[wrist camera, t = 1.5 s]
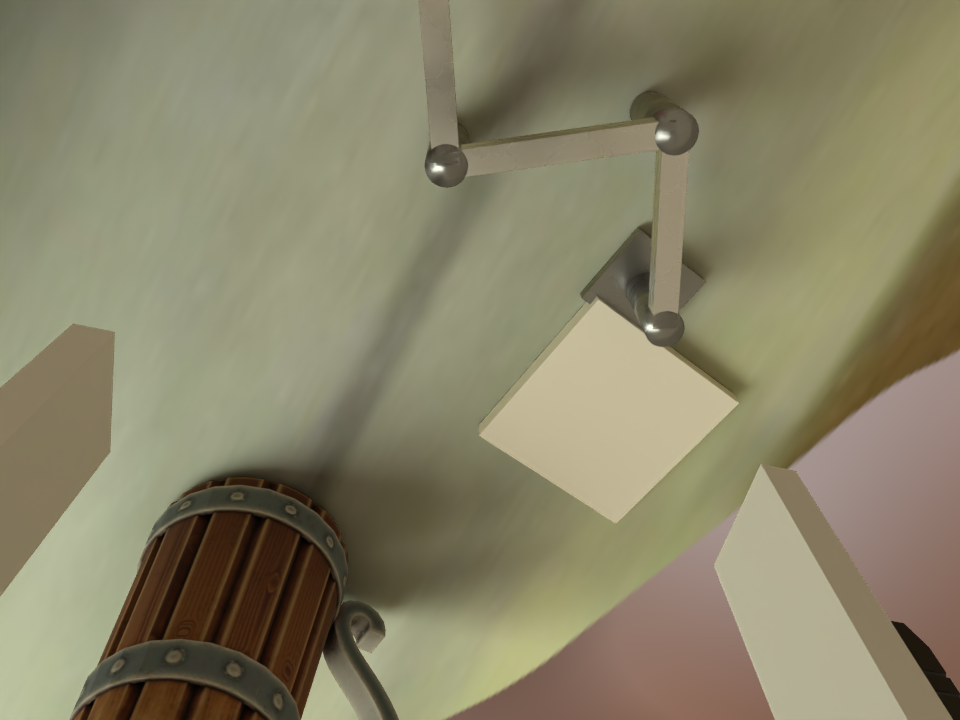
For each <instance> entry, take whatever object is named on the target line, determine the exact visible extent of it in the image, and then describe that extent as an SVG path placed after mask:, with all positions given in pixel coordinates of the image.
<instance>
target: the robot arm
mask: <svg viewBox="0 0 960 720" xmlns="http://www.w3.org/2000/svg"><path fill="white" fill-rule="evenodd" d="M114 340H115V332H112V331H107V330H102V329H97V328H92V327H87V326H82V325H78V324H73V325H71V326H70V327H69V328H68V329H67V330H66V331H65V332H63V333H62V334H61V335H60V336H59V337H58V338H57V339H55V340H54V341H53V342H52V343H51V344H50V345H49V346H48V347H46V348H45V349H44V350H43V351H42V352H41V353H40V354H38V355H37V356H36V357H35V358H34V359H33V360H32V361H30V362H29V363H28V364H27V365H26V366H25V367H24V368H22V369H21V370H20V371H19V372H18V373H17V374H16V375H15V376H13V377H12V378H11V379H10V380H9V381H8V382H7V383H5V384H4V385H3V386H2V387H1V388H0V596H1V595H2V593H3V592H4V591H5V589H6V588H7V587H8V586H9V584H10V583H11V582H12V580H13V579H14V578H15V576H16V575H17V574H18V572H19V571H20V570H21V568H22V567H23V566H24V564H25V563H26V562H27V561H28V559H29V558H30V557H31V555H32V554H33V553H34V551H35V550H36V549H37V547H38V546H39V545H40V543H41V542H42V541H43V539H44V538H45V537H46V536H47V534H48V533H49V532H50V530H51V529H52V528H53V526H54V525H55V524H56V522H57V521H58V520H59V518H60V517H61V516H62V514H63V513H64V512H65V511H66V509H67V508H68V507H69V505H70V504H71V503H72V501H73V500H74V499H75V497H76V496H77V495H78V493H79V492H80V491H81V489H82V488H83V487H84V486H85V484H86V483H87V482H88V480H89V479H90V478H91V476H92V475H93V474H94V472H95V471H96V470H97V468H98V467H99V466H100V464H101V463H102V462H103V461H104V459H105V458H106V457H107V455H108V454H109V453H110V444H111V418H112V392H113V366H114ZM714 567H715V570H716V572H717V575H718V577H719V580H720V582H721V585H722V587H723V590H724V592H725V595H726V598H727V600H728V603H729V605H730V608H731V610H732V613H733V615H734V618H735V620H736V623H737V625H738V628H739V630H740V633H741V635H742V638H743V640H744V643H745V645H746V648H747V650H748V653H749V656H750V658H751V660H752V663H753V666H754V668H755V671H756V673H757V676H758V678H759V681H760V683H761V686H762V688H763V691H764V693H765V696H766V698H767V701H768V703H769V706H770V709H771V711H772V714H773V716H774V718H775V720H960V693H959V692H958V690H957V688H956V687H955V685H954V684H953V682H952V681H951V679H950V678H946V672H945V670H944V669H943V667H942V666H941V665H940V663H939V661H938V660H937V659H936V657H935V655H934V654H933V653H932V651H931V650H930V648H929V647H928V646H927V645H926V644H925V643H924V642H923V641H922V640H921V639H920V638H919V637H918V636H917V635H915V634H914V633H913V632H912V631H911V630H910V629H909V628H908V627H907V626H906V625H905V624H904V623H899V622H894V621H890V619H889V618H888V616H887V615H886V613H885V612H884V610H883V608H882V607H881V606H880V604H879V602H878V601H877V599H876V597H875V596H874V595H873V593H872V591H871V589H870V588H869V586H868V585H867V583H866V582H865V580H864V579H863V577H862V576H861V574H860V572H859V571H858V569H857V568H856V566H855V564H854V563H853V561H852V559H851V558H850V557H849V555H848V553H847V552H846V550H845V548H844V547H843V545H842V544H841V542H840V541H839V539H838V537H837V536H836V534H835V533H834V531H833V530H832V528H831V526H830V525H829V523H828V522H827V520H826V519H825V517H824V515H823V514H822V512H821V511H820V509H819V507H818V506H817V504H816V503H815V501H814V500H813V498H812V496H811V495H810V493H809V492H808V490H807V489H806V487H805V485H804V484H803V482H802V481H801V479H800V477H799V476H798V474H797V473H796V471H793V470H788V469H783V468H778V467H773V466H768V465H764V464H761V465H760V467H759V469H758V472H757V474H756V476H755V478H754V480H753V482H752V484H751V487H750V489H749V491H748V493H747V495H746V497H745V500H744V502H743V504H742V506H741V508H740V510H739V512H738V515H737V517H736V519H735V521H734V523H733V525H732V528H731V530H730V532H729V534H728V536H727V539H726V541H725V543H724V545H723V547H722V549H721V551H720V554H719V556H718V558H717V560H716V562H715V564H714Z"/></svg>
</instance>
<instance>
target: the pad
mask: <svg viewBox="0 0 960 720" xmlns="http://www.w3.org/2000/svg"><path fill="white" fill-rule="evenodd" d="M738 404H739V402H738V401H737V399H736V398H735V396H734V394H733V393H732V392H730V391H729V390H728V389H726V388H725V387H724V386H722V385H721V384H720V383H718V382H717V381H715V380H714V379H713V378H711V377H710V376H709V375H707V374H706V373H705V372H703V371H702V370H701V369H699V368H698V367H697V366H695V365H694V364H693V363H691V362H690V361H689V360H687V359H686V358H684V357H683V356H682V355H680V354H679V353H678V352H676V351H675V350H674V349H672V348H671V347H670V346H667V347H658V346H655V345H653V344H651V343H650V342H649V341H648V339H647V337H646V335H645V333H644V331H643V330H642V329H641V328H639V327H638V326H637V325H635V324H634V323H633V322H631V321H630V320H629V319H627V318H626V317H625V316H623V315H622V314H621V313H619V312H618V311H617V310H615V309H614V308H612V307H611V306H610V305H608V304H607V303H606V302H604V301H603V300H602V299H600V298H599V297H598V296H597V297H596V298H595V299H594V301H593V302H592V303H591V304H589V303H588V302H586V303H585V304H584V305H583V306H582V308H581V309H580V310H579V311H578V312H577V313H576V314H575V316H574V317H573V318H572V319H571V320H570V321H569V322H568V324H567V325H566V326H565V327H564V328H563V329H562V330H561V332H560V333H559V334H558V335H557V336H556V337H555V338H554V340H553V341H552V342H551V343H550V344H549V345H548V346H547V348H546V349H545V350H544V351H543V352H542V353H541V354H540V356H539V357H538V358H537V359H536V360H535V361H534V362H533V364H532V365H531V366H530V367H529V368H528V369H527V371H526V372H525V373H524V374H523V375H522V376H521V377H520V379H519V380H518V381H517V382H516V383H515V384H514V385H513V387H512V388H511V389H510V390H509V391H508V392H507V393H506V395H505V396H504V397H503V398H502V399H501V400H500V401H499V403H498V404H497V405H496V406H495V407H494V408H493V409H492V411H491V412H490V413H489V414H488V415H487V416H486V417H485V419H484V420H483V421H482V422H481V423H480V424H479V436H480V437H482V438H483V439H485V440H486V441H488V442H489V443H491V444H493V445H494V446H496V447H497V448H499V449H500V450H502V451H503V452H505V453H507V454H508V455H510V456H511V457H513V458H514V459H516V460H518V461H519V462H521V463H522V464H524V465H525V466H527V467H528V468H530V469H532V470H533V471H535V472H536V473H538V474H539V475H541V476H542V477H544V478H546V479H547V480H549V481H550V482H552V483H553V484H555V485H556V486H558V487H560V488H561V489H563V490H564V491H566V492H567V493H569V494H570V495H572V496H574V497H575V498H577V499H578V500H580V501H581V502H583V503H585V504H586V505H588V506H589V507H591V508H592V509H594V510H595V511H597V512H599V513H600V514H602V515H603V516H605V517H606V518H608V519H609V520H611V521H613V522H614V523H617V522H618V521H619V520H620V519H621V518H622V517H623V516H624V515H625V514H627V513H628V512H629V511H630V510H631V509H632V508H633V507H634V506H635V505H636V504H637V503H638V502H639V501H640V500H641V499H642V498H643V497H644V496H645V495H646V494H647V493H648V492H649V491H650V490H651V489H652V488H653V487H654V486H655V485H656V484H657V483H658V482H659V481H660V480H661V479H662V478H663V477H664V476H665V475H666V474H667V473H668V472H669V471H670V470H671V469H672V468H673V467H675V466H676V465H677V464H678V463H679V462H680V461H681V460H682V459H683V458H684V457H685V456H686V455H687V454H688V453H689V452H690V451H691V450H692V449H693V448H694V447H695V446H696V445H697V444H698V443H699V442H700V441H701V440H702V439H703V438H704V437H705V436H706V435H707V434H708V433H709V432H710V431H711V430H712V429H713V428H714V427H715V426H716V425H717V424H718V423H719V422H720V421H722V420H723V419H724V418H725V417H726V416H727V415H728V414H729V413H730V412H731V411H732V410H733V409H734V408H735V407H736V406H737V405H738Z"/></svg>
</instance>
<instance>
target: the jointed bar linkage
mask: <svg viewBox="0 0 960 720" xmlns="http://www.w3.org/2000/svg"><path fill="white" fill-rule="evenodd" d="M419 11H420V23H421V34H422V46H423V57H424V69H425V81H426V92H427V104H428V116H429V127H430V142H429V147H428V151H427V155H426V160H425V171H426V174H427V176H428V178H429V179H430V180H431V181H432V182H433V183H434V184H436V185H438V186H440V187H453V186H456V185H458V184H459V183H460V182H462V181H463V179H464V178H465V177H469V176H476V175H483V174H490V173H497V172H504V171H512V170H519V169H526V168H533V167H540V166H547V165H554V164H561V163H568V162H575V161H583V160H590V159H597V158H604V157H611V156H618V155H625V154H632V153H639V152H646V151H653V150H656V161H655V181H654V201H653V221H652V237H650V236H649V235H648V234H647V233H645V232H644V231H643V230H641V229H640V228H639V227H637V229H636V230H635V231H634V232H633V233H632V234H631V236H630V237H629V238H628V239H627V240H626V241H625V242H624V244H623V245H622V246H621V247H620V248H619V249H618V251H617V252H616V253H615V254H614V255H613V256H612V257H611V259H610V260H609V261H608V262H607V263H606V264H605V266H604V267H603V268H602V269H601V270H600V271H599V272H598V274H597V275H596V276H595V277H594V278H593V279H592V281H591V282H590V283H589V284H588V285H587V286H586V288H585V289H584V290H583V291H582V292H581V293H580V294H581V297H582V299H584V300H585V301H586V302H588V303H589V304H591V303H592V302H593V301H594V299H595V298H596V297H597V296H598V297H599V298H600V299H602V300H603V301H604V302H606V303H607V304H608V305H610V306H611V307H612V308H614V309H615V310H617V311H618V312H619V313H621V314H622V315H623V316H625V317H626V318H627V319H629V320H630V321H631V322H633V323H634V324H635V325H637V326H638V327H639V328H641V329H642V330H643V331H644V333H645V335H646V337H647V339H648V341H649V342H650V343H651V344H653V345H655V346H658V347H667V346H671V345H673V344H675V343H676V342H677V341H678V340H679V339H680V338H681V337H682V335H683V333H684V322H683V320H682V318H681V316H680V315H679V313H678V311H679V310H680V309H681V308H682V307H683V306H684V305H685V304H686V303H687V302H688V301H689V299H690V298H691V297H692V296H693V295H694V294H695V293H696V292H697V291H698V290H699V289H700V288H701V287H702V286H703V284H704V283H705V282H706V281H705V280H704V279H703V278H702V277H701V276H700V275H699V274H697V273H696V272H695V271H694V270H692V269H691V268H690V267H689V266H687V265H686V264H685V263H683V262H682V249H683V234H684V219H685V204H686V190H687V175H688V160H689V150H690V149H691V148H692V147H693V146H694V144H695V142H696V140H697V138H698V133H699V128H698V124H697V121H696V119H695V118H694V117H693V116H692V115H691V114H689V113H688V112H686V111H685V110H683V109H682V108H680V107H679V106H677V105H676V104H674V103H673V102H671V101H670V100H668V99H667V98H665V97H664V96H662V95H661V94H659V93H657V92H652V91H650V92H645V93H642V94H640V95H639V96H638V97H636V99H635V100H634V101H633V103H632V105H631V108H630V118H631V120H630V121H623V122H616V123H609V124H602V125H595V126H588V127H581V128H574V129H567V130H560V131H553V132H546V133H539V134H532V135H525V136H518V137H511V138H504V139H497V140H490V141H483V142H476V143H469V144H468V135H467V132H466V130H465V129H464V127H463V126H462V125H461V124H459V123H458V121H457V107H456V93H455V79H454V65H453V51H452V37H451V23H450V9H449V0H419Z"/></svg>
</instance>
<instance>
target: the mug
mask: <svg viewBox="0 0 960 720" xmlns="http://www.w3.org/2000/svg"><path fill="white" fill-rule="evenodd" d="M341 536H342V534H341V532H340V531H339V529H338V527H337V525H336V524H335V522H334V521H333V520H332V518H331V517H330V516H329V515H328V514H327V513H326V512H325V510H324V509H322V508H320V507H319V506H317V505H316V504H314V503H313V501H312V499H310V498H308V497H307V496H305V495H303V494H302V493H300V492H298V491H297V490H294V489H292V488H289V487H287V486H285V485H282V484H279V483H272V482H270V481H267V480H264V479H256V478H247V477H240V478H227V479H226V480H224V481H210V482H207V483H204V484H201V485H198V486H196V487H194V488H192V489H190V490H189V491H187V492H185V493H183V494H182V496H181V498H180V500H179V501H176V502H173V503H171V505H170V506H169V507H168V509H167V510H166V511H165V512H164V513H163V515H162V516H161V517H160V518H159V519H158V520H157V522H156V523H155V525H154V527H153V529H152V531H151V534H150V536H149V538H148V541H147V543H146V545H145V548H144V550H143V553H142V555H141V558H140V561H139V563H138V566H137V575H136V578H135V580H134V582H133V584H132V587H131V589H130V591H129V594H128V596H127V598H126V601H125V603H124V605H123V608H122V610H121V612H120V615H119V617H118V619H117V622H116V624H115V626H114V629H113V631H112V633H111V635H110V638H109V640H108V642H107V645H106V647H105V649H104V652H103V654H102V656H101V659H100V661H99V663H98V666H97V668H96V669H95V670H94V671H93V672H92V673H91V674H90V675H89V676H88V678H87V680H86V682H85V685H84V687H83V689H82V692H81V694H80V696H79V699H78V701H77V703H76V705H75V708H74V710H73V712H72V715H71V717H70V720H301V718H302V714H303V711H304V708H305V705H306V702H307V698H308V695H309V692H310V689H311V686H312V683H313V679H314V676H315V673H316V670H317V667H318V663H319V660H320V657H321V654H322V651H323V654H324V658H325V660H326V663H327V665H328V667H329V669H330V671H331V673H332V674H333V676H334V678H335V680H336V681H337V683H338V684H339V686H340V688H341V689H342V691H343V692H344V694H345V696H346V697H347V699H348V700H349V702H350V704H351V705H352V707H353V709H354V710H355V712H356V714H357V716H358V718H359V720H399V719H398V716H397V714H396V711H395V709H394V707H393V705H392V703H391V701H390V699H389V697H388V696H387V694H386V692H385V690H384V688H383V687H382V685H381V683H380V682H379V680H378V679H377V677H376V675H375V674H374V672H373V671H372V669H371V668H370V666H369V665H368V663H367V662H366V660H365V659H364V657H363V656H362V654H361V652H360V651H359V649H358V648H360V649H362V650H365V651H367V652H369V653H372V652H373V651H374V649H375V648H376V647H377V646H378V645H379V643H380V642H381V641H382V640H383V638H384V637H385V631H386V630H385V625H384V621H383V620H382V618H381V617H380V615H379V614H378V612H376V611H375V610H374V609H373V608H372V607H371V606H369V605H367V604H365V603H363V602H360V601H351V600H350V601H347V602H344V603H343V604H341V603H342V600H343V596H344V593H345V589H346V582H347V576H348V567H347V566H348V557H347V549H346V546H345V545H344V544H343V542H342V541H341ZM353 636H354V637H355V638H356V643H355V641H354V639H353Z"/></svg>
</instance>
